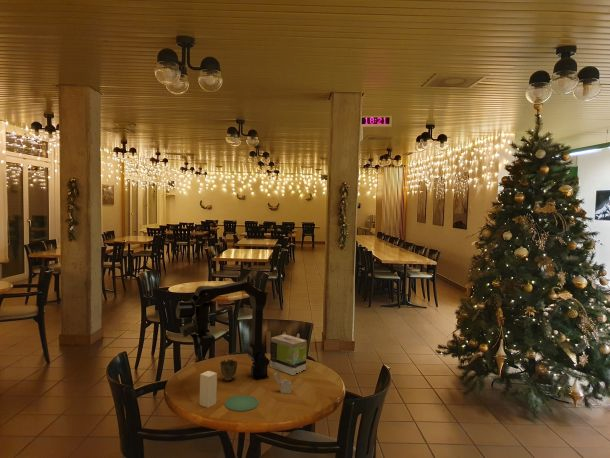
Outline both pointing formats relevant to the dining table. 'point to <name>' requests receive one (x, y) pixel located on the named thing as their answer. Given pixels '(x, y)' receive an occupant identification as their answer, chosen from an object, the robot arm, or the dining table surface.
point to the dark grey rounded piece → (228, 369)
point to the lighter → (283, 384)
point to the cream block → (208, 388)
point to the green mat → (241, 403)
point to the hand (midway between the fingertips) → (199, 353)
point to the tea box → (288, 354)
